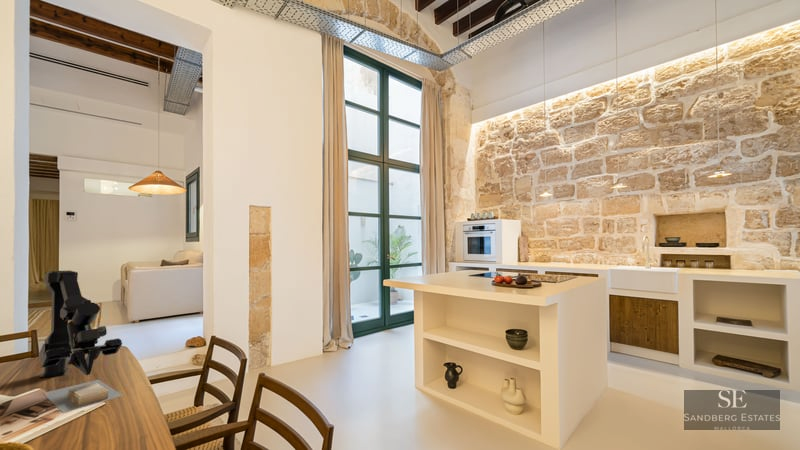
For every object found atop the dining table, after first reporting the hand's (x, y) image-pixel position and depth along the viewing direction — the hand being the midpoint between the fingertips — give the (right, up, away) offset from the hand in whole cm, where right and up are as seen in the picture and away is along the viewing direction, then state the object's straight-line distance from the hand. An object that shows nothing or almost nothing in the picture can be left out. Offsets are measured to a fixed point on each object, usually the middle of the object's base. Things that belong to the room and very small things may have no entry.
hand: (88, 374), depth 106 cm
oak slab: (-3, -6, +1) cm, 6 cm away
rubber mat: (-3, -7, +1) cm, 8 cm away
